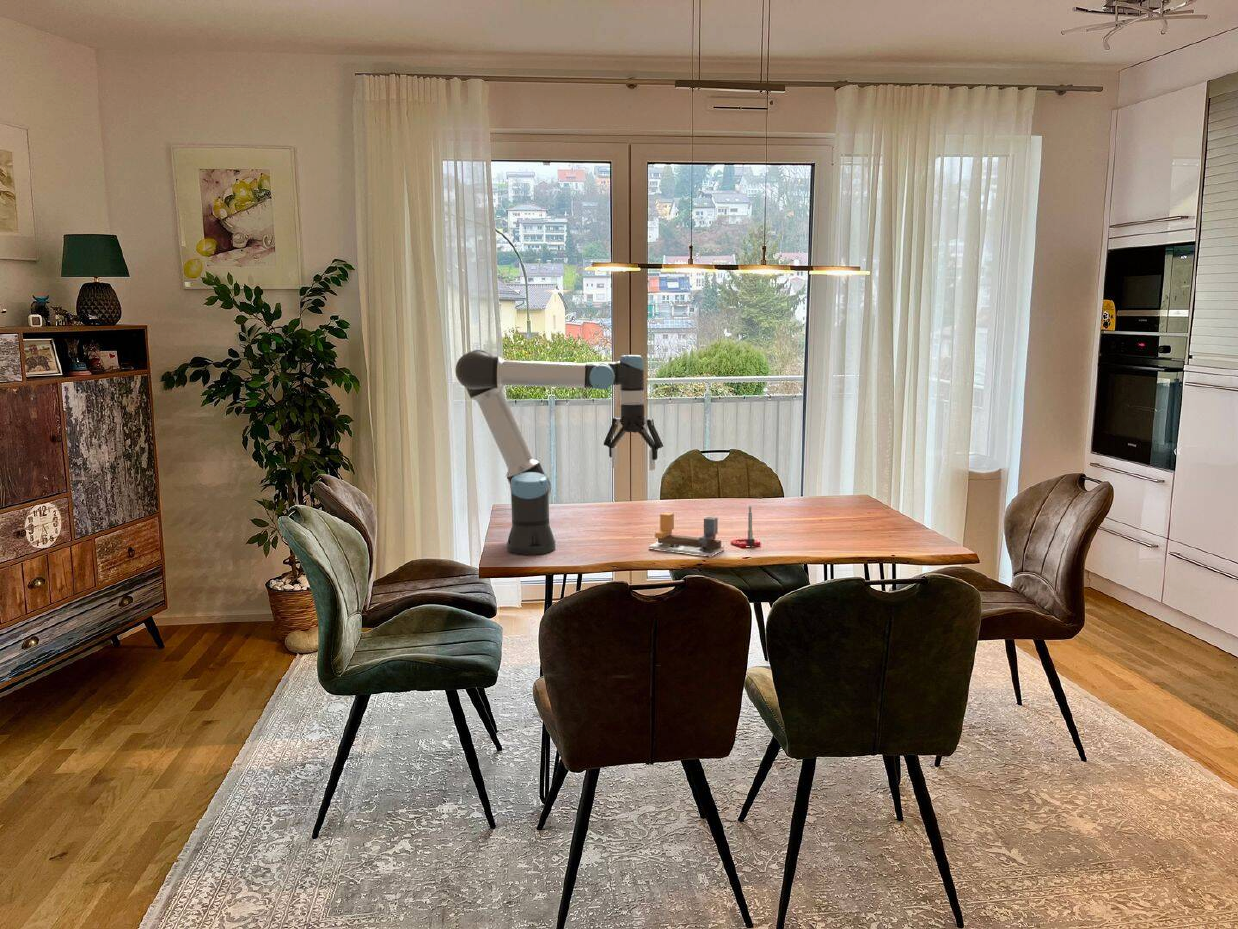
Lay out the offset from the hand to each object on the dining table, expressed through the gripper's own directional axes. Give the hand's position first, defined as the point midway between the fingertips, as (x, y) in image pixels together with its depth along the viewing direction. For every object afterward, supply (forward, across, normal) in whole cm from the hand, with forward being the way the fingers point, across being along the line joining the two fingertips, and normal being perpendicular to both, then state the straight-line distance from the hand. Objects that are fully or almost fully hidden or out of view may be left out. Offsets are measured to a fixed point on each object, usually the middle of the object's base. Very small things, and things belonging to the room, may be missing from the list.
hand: (633, 468), depth 303 cm
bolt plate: (+23, -22, +9) cm, 33 cm away
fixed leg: (+21, -29, +8) cm, 37 cm away
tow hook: (+23, -36, -6) cm, 43 cm away
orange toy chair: (+21, -14, +8) cm, 26 cm away
